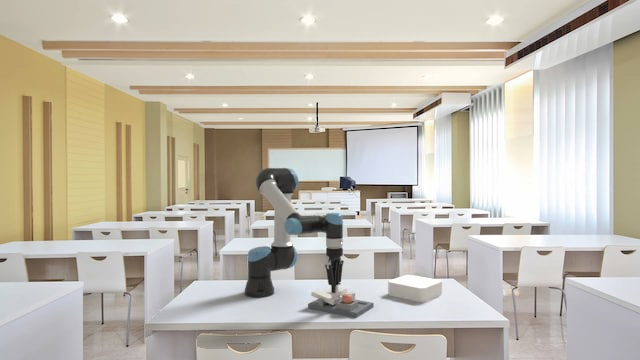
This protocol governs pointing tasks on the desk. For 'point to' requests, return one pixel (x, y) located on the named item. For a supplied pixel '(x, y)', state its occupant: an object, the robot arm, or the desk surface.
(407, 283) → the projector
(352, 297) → the block
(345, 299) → the button
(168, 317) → the desk surface
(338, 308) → the panel
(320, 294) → the block
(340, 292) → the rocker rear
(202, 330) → the desk surface
